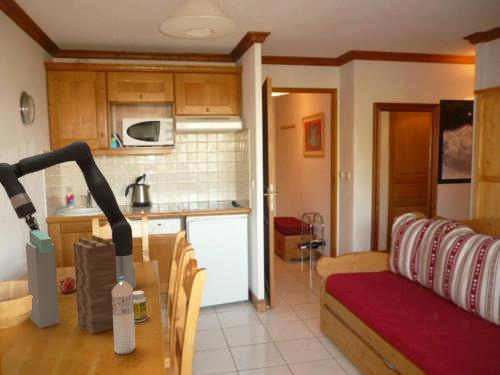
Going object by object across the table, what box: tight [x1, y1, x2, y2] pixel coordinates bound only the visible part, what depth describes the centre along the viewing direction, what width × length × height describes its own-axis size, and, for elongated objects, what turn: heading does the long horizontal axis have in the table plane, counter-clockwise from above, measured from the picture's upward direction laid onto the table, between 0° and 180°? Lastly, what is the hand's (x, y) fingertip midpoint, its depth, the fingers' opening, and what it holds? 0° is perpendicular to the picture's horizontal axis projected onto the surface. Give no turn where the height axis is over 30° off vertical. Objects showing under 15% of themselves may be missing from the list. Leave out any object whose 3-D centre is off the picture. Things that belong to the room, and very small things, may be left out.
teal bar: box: [28, 229, 53, 253], centre depth 160 cm, size 24×4×5 cm, turn 37°
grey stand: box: [25, 242, 60, 329], centre depth 162 cm, size 12×7×31 cm, turn 44°
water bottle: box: [111, 276, 136, 355], centre depth 137 cm, size 7×7×25 cm
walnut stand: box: [73, 235, 117, 335], centre depth 157 cm, size 14×10×34 cm
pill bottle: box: [133, 290, 148, 323], centre depth 162 cm, size 6×6×11 cm
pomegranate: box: [58, 276, 76, 294], centre depth 197 cm, size 7×7×10 cm
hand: (40, 238), depth 178 cm, fingers open, 8 cm apart
